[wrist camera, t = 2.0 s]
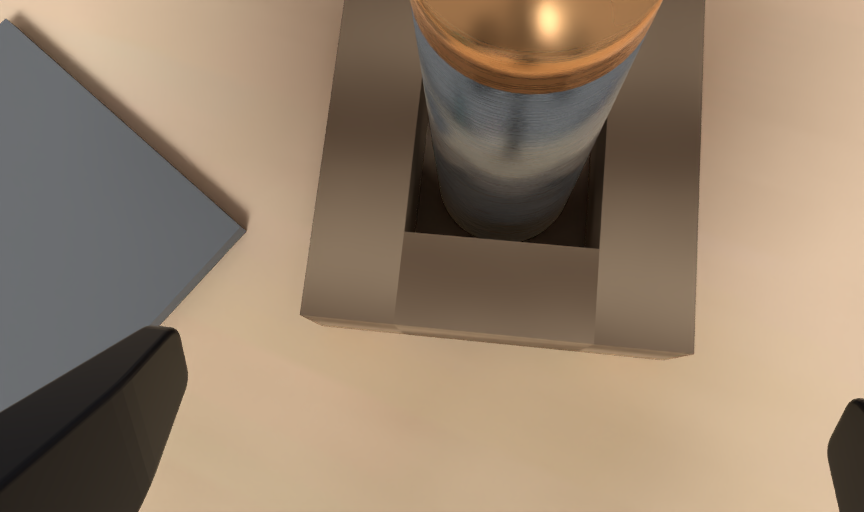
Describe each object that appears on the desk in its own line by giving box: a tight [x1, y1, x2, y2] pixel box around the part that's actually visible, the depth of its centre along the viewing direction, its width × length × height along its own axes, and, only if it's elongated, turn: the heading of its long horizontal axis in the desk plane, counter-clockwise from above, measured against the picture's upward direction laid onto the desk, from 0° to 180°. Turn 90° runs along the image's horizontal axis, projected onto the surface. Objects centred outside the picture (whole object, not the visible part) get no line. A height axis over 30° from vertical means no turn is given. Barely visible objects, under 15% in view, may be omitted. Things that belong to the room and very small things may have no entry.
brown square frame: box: [300, 0, 705, 360], centre depth 22 cm, size 11×11×3 cm
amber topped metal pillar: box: [410, 0, 663, 242], centre depth 17 cm, size 4×4×13 cm
